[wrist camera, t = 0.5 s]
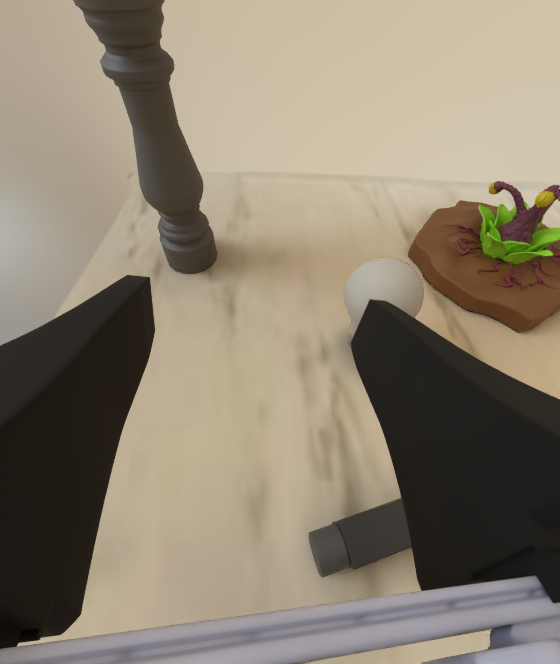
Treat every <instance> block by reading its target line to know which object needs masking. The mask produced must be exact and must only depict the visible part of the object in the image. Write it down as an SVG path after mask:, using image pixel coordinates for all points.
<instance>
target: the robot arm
mask: <svg viewBox="0 0 560 664" xmlns="http://www.w3.org/2000/svg"><path fill="white" fill-rule="evenodd" d="M154 333H155V325H154V315H153V305H152V295H151V285H150V277H141V276H131V275H127V276H125V277H123V278H122V279H120V280H118V281H117V282H115V283H114V284H112V285H110V286H109V287H107V288H106V289H104V290H103V291H101V292H99V293H98V294H96V295H95V296H93V297H91V298H90V299H88V300H87V301H85V302H83V303H82V304H80V305H78V306H77V307H75V308H73V309H71V310H70V311H68V312H66V313H64V314H62V315H61V316H59V317H57V318H55V319H53V320H52V321H50V322H48V323H46V324H45V325H43V326H41V327H39V328H37V329H35V330H33V331H31V332H29V333H27V334H25V335H23V336H21V337H18V338H16V339H14V340H12V341H10V342H7V343H5V344H3V345H1V346H0V664H301V663H306V662H312V661H317V660H323V659H329V658H334V657H340V656H345V655H351V654H357V653H362V652H368V651H373V650H379V649H385V648H390V647H396V646H401V645H407V644H412V643H418V642H424V641H429V640H435V639H440V638H446V637H452V636H457V635H463V634H468V633H474V632H479V631H485V630H491V629H493V630H491V633H490V647H489V648H488V649H487V650H484V651H478V652H473V653H467V654H462V655H457V656H451V657H446V658H441V659H436V660H431V661H427V662H422V663H421V664H560V399H557V398H555V397H553V396H550V395H548V394H546V393H544V392H542V391H539V390H537V389H535V388H533V387H531V386H529V385H527V384H524V383H522V382H520V381H518V380H516V379H514V378H512V377H510V376H508V375H506V374H504V373H502V372H501V371H499V370H497V369H495V368H493V367H491V366H489V365H488V364H486V363H484V362H482V361H480V360H479V359H477V358H475V357H473V356H472V355H470V354H468V353H467V352H465V351H464V350H462V349H460V348H459V347H457V346H456V345H454V344H452V343H451V342H449V341H448V340H446V339H445V338H443V337H442V336H440V335H439V334H437V333H436V332H434V331H433V330H431V329H430V328H428V327H427V326H425V325H424V324H422V323H421V322H419V321H418V320H416V319H415V318H413V317H412V316H410V315H409V314H407V313H406V312H404V311H403V310H401V309H400V308H398V307H396V306H395V305H393V304H391V303H389V302H387V301H384V300H374V299H370V300H369V302H368V304H367V306H366V309H365V311H364V313H363V316H362V318H361V320H360V322H359V325H358V327H357V329H356V331H355V334H354V336H353V338H352V341H351V343H350V344H351V348H352V352H353V357H354V360H355V364H356V367H357V370H358V373H359V375H360V377H361V380H362V382H363V385H364V387H365V389H366V392H367V394H368V396H369V399H370V401H371V403H372V406H373V408H374V410H375V413H376V415H377V417H378V420H379V422H380V425H381V428H382V430H383V433H384V436H385V439H386V443H387V446H388V449H389V452H390V456H391V459H392V463H393V466H394V470H395V474H396V478H397V481H398V485H399V489H400V493H401V498H402V502H403V506H404V511H405V515H406V519H407V524H408V529H409V535H410V540H411V545H412V550H413V556H414V561H415V568H416V574H417V580H418V582H419V585H420V588H421V590H422V591H419V592H412V593H404V594H397V595H390V596H383V597H375V598H368V599H361V600H353V601H346V602H339V603H332V604H324V605H317V606H310V607H302V608H295V609H288V610H281V611H273V612H266V613H259V614H251V615H244V616H237V617H230V618H222V619H215V620H208V621H200V622H193V623H186V624H179V625H171V626H164V627H157V628H149V629H142V630H135V631H128V632H120V633H113V634H106V635H98V636H91V637H84V638H77V639H69V640H62V641H55V642H47V643H40V644H33V645H26V646H18V647H17V644H18V643H21V642H29V641H36V640H40V638H41V637H49V636H56V635H61V634H62V633H64V632H65V631H66V630H67V629H68V628H69V627H70V626H71V625H72V624H73V623H74V622H75V621H76V619H77V618H78V617H79V616H80V615H81V611H82V605H83V600H84V595H85V590H86V585H87V580H88V575H89V570H90V565H91V560H92V555H93V550H94V545H95V541H96V536H97V532H98V527H99V522H100V518H101V513H102V509H103V504H104V500H105V496H106V492H107V488H108V484H109V479H110V475H111V471H112V467H113V463H114V459H115V455H116V452H117V448H118V444H119V440H120V436H121V433H122V430H123V427H124V424H125V421H126V418H127V415H128V413H129V410H130V407H131V405H132V402H133V399H134V397H135V394H136V392H137V389H138V386H139V384H140V381H141V378H142V376H143V373H144V370H145V368H146V365H147V362H148V359H149V356H150V352H151V347H152V343H153V338H154Z"/></svg>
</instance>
